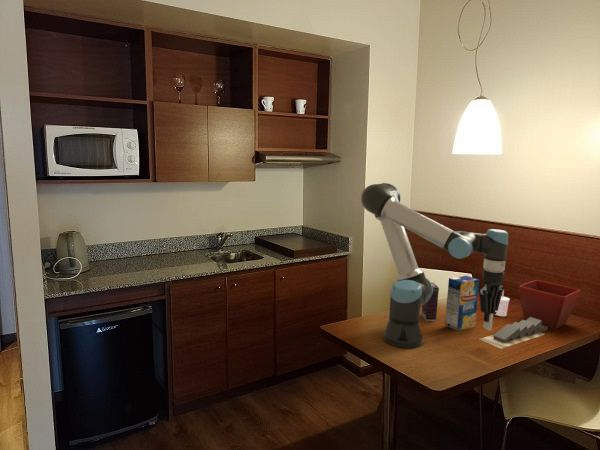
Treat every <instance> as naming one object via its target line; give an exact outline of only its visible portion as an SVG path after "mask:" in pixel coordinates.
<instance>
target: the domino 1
mask: <svg viewBox="0 0 600 450" xmlns="http://www.w3.org/2000/svg"><path fill="white" fill-rule="evenodd" d="M518 332H520V328H519V327H516V326H513V325H512V324H510V323H507V324H506V325H505V326H503V327H502V328H501V329H500V330H498V331H497V332H496V333H494V334H492V335H493V337H494V339H496V340H499V341H501V342H504V343H506V342H507V341H508V340H510V339H511V338H512V337H513V336H515V335H516V334H517V333H518Z"/></svg>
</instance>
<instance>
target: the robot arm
mask: <svg viewBox="0 0 600 450" xmlns="http://www.w3.org/2000/svg"><path fill="white" fill-rule="evenodd" d="M360 201H361V204H362V207H363V208H364V209H365V210H366V211H367V212H369V213H371V214H372V215H374V217H375V219H376V220H377V221H380V223H381V226H382V227H381V228H382V230H383V232H384V235H385V239H386V242H387V244H388V247H389V251H390V254H391V256H392V259H393V262H394V264H395V267H396V270H397V273H398V276H397V277H396V281H395V282H393V283H392V284H391V288H390V297H389V298H390V299H389V300H390V301H389V315H388V322H387V324H386V325H385V326H386V327H385V330H384V331H383V337H382V338H383V341H384V342H385V343H387V344H389V345H391V346H393V347H396V348H402V349H403V348H404V349H412V348H413V349H414V348H418V347H420V346H422V345H423V334H422V332H421V327H420V315H421V313H420V312H421V309H422V306H423V305H424V304H426V303H427V302H428V301H429V300H430V298H431V296H432V293H433V287H432V284H431V281H430V280H429V278H427V277H426V275H425V271H424V270H422V269H420V268H419V266H418V263H417V260H416V256H415V254H414V252H413V248H412V246H411V243H410V240H409V237H408V234H407V231H406V230H408V231H410V232H412V233H414V234H416V235H417V236H419V237H421V238H423V239H425V240H426V241H429V242H430V243H432V244H433V245H436V246H438V247H439V248H442V249H443V250H446V251H447V252H448V253H449V254H450V256H451V257H453V258H454V259H460V260H461V259H465V258H467V257H469V256H470V255H471V254H472V253H476V254H484V258H483V266H482V268H483V270H482V277H481V278H482V280H483V281H484V282H483V287H482V288H479V291H478V295H479V302H480V303H479V304H480V312H482V313H484V314H483V325H482V328H483V329H485V330H486V331H492V328H493V322H494V321H493V320H494V315H495V314H496V313H497V312H495V311H498V308H499V304H500V300H501V296H502V293H503V290H504V291H505V286H503V285H502V283H503V282H504V280H505V272H504V271H505V270H506V269H505V268H506V260H507V254H508V253H507V252H508V248H509V247H508V246H509V233H508V232H507V231H506V230H502V229H494V228H491V229H490V228H489V229H487V231H486V233H479V232H478V233H477V232H472V231H470V232H469V231H466V230H464V231H462V230H456V231H455V230H452V229H451V228H449V227H447V226H445V225H443V224H441V223H439V222H438V221H436V220H433V219H431V218H429V217H428V216H425V215H423V214H422V213H419V212H418V211H416V210H414V209H413V208H410V207H408V206H406V205H405V204H403V203H401V192H400V191H399V189H398V188H397V187H396V186H395V185H394V184H391V183H387V182H382V183H374V184H369V185H368V186H367V187H365V188H364V190H363V191H362V193H361V196H360Z"/></svg>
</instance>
